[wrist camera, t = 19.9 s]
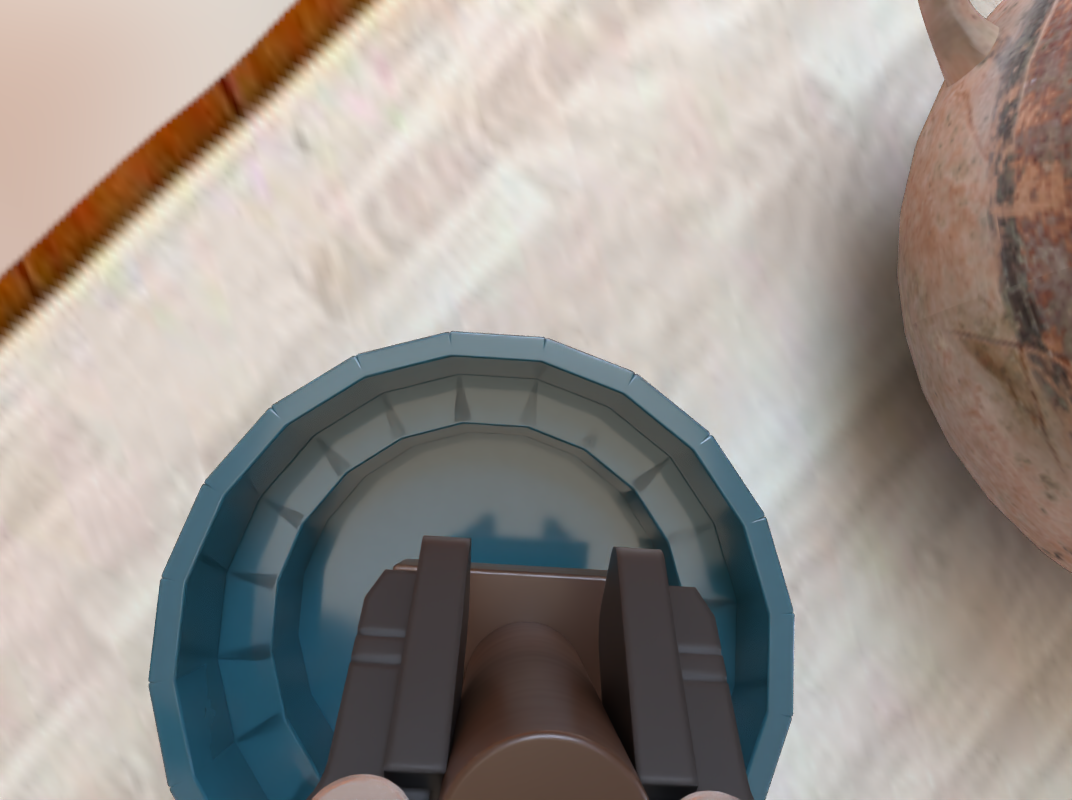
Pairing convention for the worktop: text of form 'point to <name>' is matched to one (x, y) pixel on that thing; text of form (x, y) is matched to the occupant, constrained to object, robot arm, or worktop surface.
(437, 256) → the worktop surface
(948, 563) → the worktop surface
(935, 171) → the cooking pot
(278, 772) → the bowl
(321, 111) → the worktop surface
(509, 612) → the brown stamp
